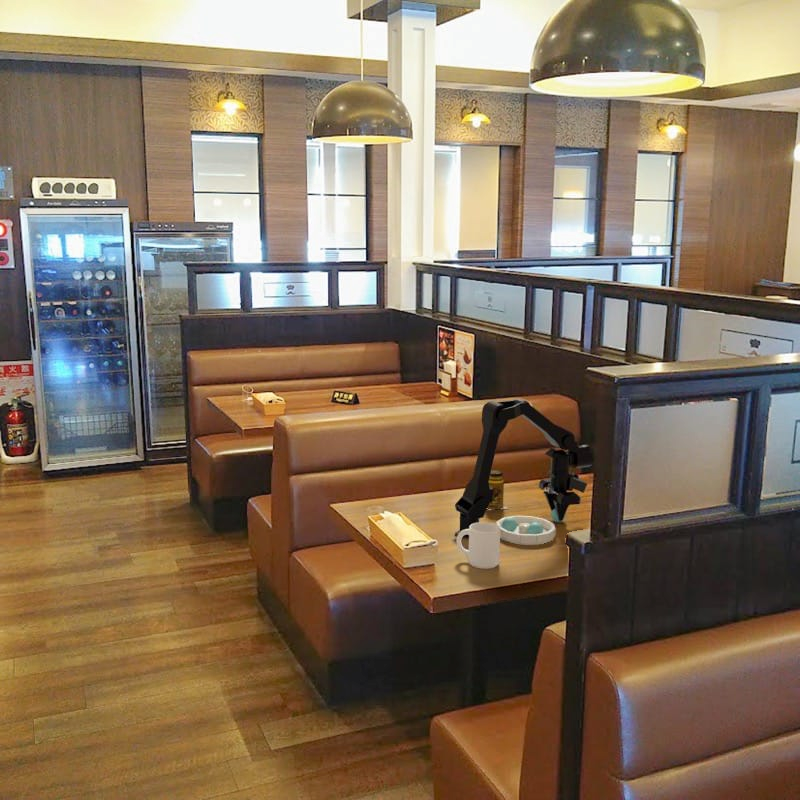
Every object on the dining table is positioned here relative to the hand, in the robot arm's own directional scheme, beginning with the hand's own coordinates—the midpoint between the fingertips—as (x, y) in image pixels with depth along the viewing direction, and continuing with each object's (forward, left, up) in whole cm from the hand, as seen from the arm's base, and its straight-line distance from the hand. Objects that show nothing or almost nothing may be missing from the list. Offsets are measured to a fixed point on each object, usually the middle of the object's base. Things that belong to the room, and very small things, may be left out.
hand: (557, 518), depth 262 cm
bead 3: (0, 0, +1) cm, 1 cm away
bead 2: (-19, -1, +2) cm, 19 cm away
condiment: (+3, +23, -2) cm, 24 cm away
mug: (-43, +5, -2) cm, 44 cm away
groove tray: (-16, +3, -1) cm, 17 cm away
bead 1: (-19, +8, +2) cm, 20 cm away
